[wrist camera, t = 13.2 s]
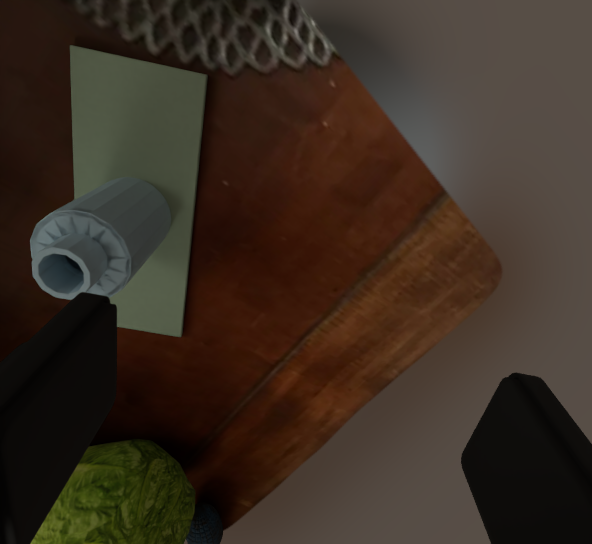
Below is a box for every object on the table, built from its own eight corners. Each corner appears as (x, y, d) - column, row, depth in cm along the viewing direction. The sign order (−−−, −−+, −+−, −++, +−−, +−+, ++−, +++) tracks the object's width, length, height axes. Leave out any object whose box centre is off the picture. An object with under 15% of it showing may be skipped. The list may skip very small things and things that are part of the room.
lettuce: (82, 484, 57) (37, 406, 53) (227, 508, 47) (187, 414, 43) (-26, 599, 45) (-97, 509, 40) (141, 665, 35) (71, 556, 30)
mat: (73, 45, 30) (69, 44, 30) (207, 75, 31) (206, 74, 31) (80, 317, 40) (78, 320, 40) (182, 333, 41) (180, 337, 41)
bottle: (95, 169, 34) (-1, 213, 23) (173, 185, 34) (116, 235, 23) (96, 241, 36) (10, 310, 26) (168, 254, 37) (114, 327, 26)
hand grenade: (211, 485, 52) (221, 530, 56) (175, 502, 50) (189, 547, 55) (222, 516, 48) (232, 562, 53) (184, 536, 46) (198, 581, 51)
